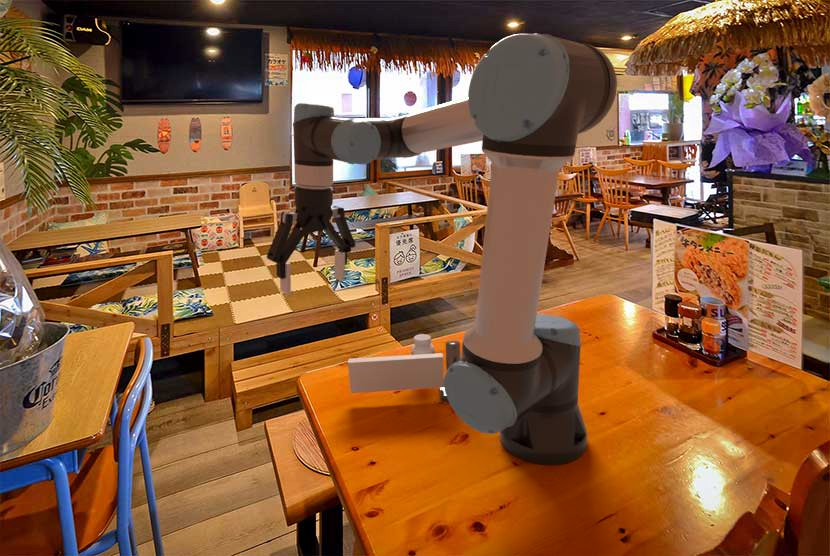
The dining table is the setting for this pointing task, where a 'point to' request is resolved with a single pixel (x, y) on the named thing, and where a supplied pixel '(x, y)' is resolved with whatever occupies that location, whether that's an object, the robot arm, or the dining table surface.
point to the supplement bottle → (422, 345)
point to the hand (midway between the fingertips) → (313, 285)
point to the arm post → (450, 362)
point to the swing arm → (396, 373)
